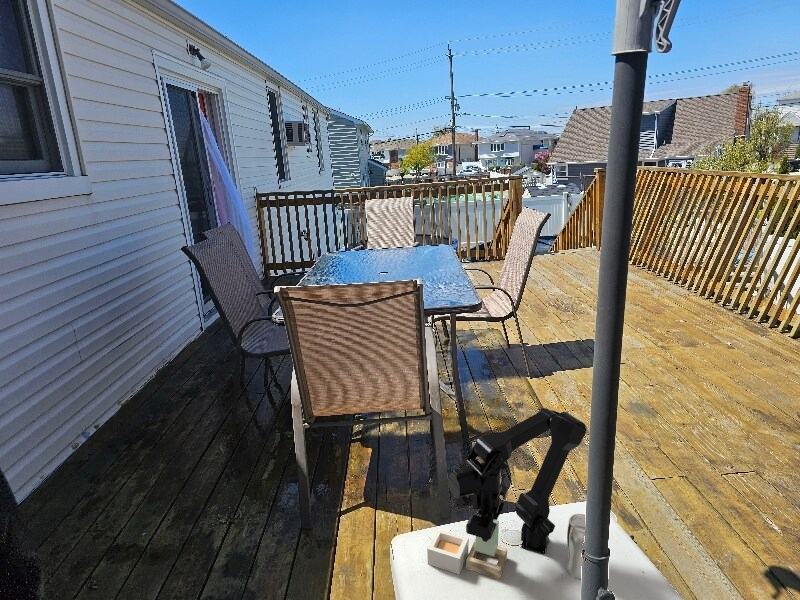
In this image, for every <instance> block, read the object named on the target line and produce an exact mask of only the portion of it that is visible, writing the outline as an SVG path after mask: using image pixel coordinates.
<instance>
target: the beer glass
mask: <svg viewBox="0 0 800 600" xmlns="http://www.w3.org/2000/svg"><path fill="white" fill-rule="evenodd" d="M585 515H586V514H583V513H574V514H572V515H571V516H570V517H569V519H568V526H567V531H566V533H567V534H566V542H567V549H568V550H567V551H568V559H567V562H566V565H565V566H566V567H565V569H566V572H567V573H568V574H569V575H570V576H571V577H573V578H575V579H578V580H582V579H581V566H582V557H581V553H582V544H583V542H584V536H585Z"/></svg>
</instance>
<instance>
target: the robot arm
mask: <svg viewBox="0 0 800 600" xmlns="http://www.w3.org/2000/svg"><path fill="white" fill-rule="evenodd" d="M587 429H588V428H587V427H586V424H585V422H584V421H581V420H580V419H578V418H577V417H575V416H574V415H572V414H570V413H569V412H568V411H562V412H558V411H556V410H553V409H549V408H546V407H543V408H540V409H539V411H538V412H537V413H535V414H533V415H531V416H529V417H528V418H525V419H524V420H522V421H520V422H519V423H517V424H515V425H514V426H512V427H509V428H507V429H505V430H503V431H499V432H493V431H492V432H489V433H487V434H485V435H481V436H480V437H478V438H477V439H476V442H475V444H474V445H473V447H472V448H471V450H470V452H469V453H468V455H467V456H466V458H465V462H466V463H467V464H468V465H467V466H465V467H461V468H456V469H453V470H452V473H450V474H449V475H448V478H447V483H448V487H449V491H450V492H451V494H452V496H453V500H454V501H453V504H454V505H455V506H456V508H457V509H465V508H467V507H472V509H473V510H475V511H478V512H477V514H472V515H470V517H468V521H467V523H466V525H465V532H466V534H468V535H471V536H473V537H474V536H475V537H476V536H477V537H481V538H482V540H483V541H484V542H487V541H488V539H491V537H492V534H493V531H494V529H495V527H496V524H497V523H494V522H493V520H494V519H495V520H499V519H498V518H499V516H500V514H501V513H502V510H503V508H504V505H505V503H504V502H502V500H504V501H506V500H507V498H508V495H509V494H508V493H509V492H508V490H509V488H508V487H507V486H506V485H505V484H502V483H501V474H502V473H501V472H502V470H505V469H508V468H509V465H508V463H506V461H508V460H510V458H511V456H512V453H514V451H515V450H516V449H518V448H519V447H521V446H523V445H525V444H527V443H529V442H530V441H531V440H533V439H535V438H537V437H539V436H540V435H542V434H544V433H546V432H548V431H549V430H550V438H551V439H550V440H551V443H550V444H549V445H550V446H549V448H548V449H547V452H546V455H545V456H544V459H543V462H542V463H541V466H540V468H539V471H538V473H537V475H536V477H535V480H534V482H533V484H532V487H531V488H530V490H529V491H526V492H520V494H519V495H518V499H517V501H516V502H515V504H514V506H515V508H514V509H515V513H516V515H517V517H519V518H520V519H521V520H522V522H523V523H522V525H521V531H520V532H521V533H520V534H521V535H520V541H521V547H520V548H521V549H525V550H529V551H532V552H535V553H539V554H542V555H546V552H547V548H548V545H549V538H550V537H549V536H550V534H552V533H553V532H554V530H555V527H556V525H555V524H554V523H553V522H552V521H551V520H550V519H549V515H550V511H551V509H550V496H551V495H552V492H553V490H554V488H555V485H556V483H557V480H558V478H559V476H560V474H561V472H562V469H563V468H564V465H565V462H566V460H567V457H568V456H569V454H570V453H571V451H573V450H574V449H575V448H578V447H579V446H580V444H581V443H582V441H583V439H584V438H585V436H586V435H587V431H588V430H587ZM477 458H479V459H480V460H481V461H482V462H480V461H479V460H478V459H477ZM501 497H502V498H501ZM487 516H488V517H487Z"/></svg>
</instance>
